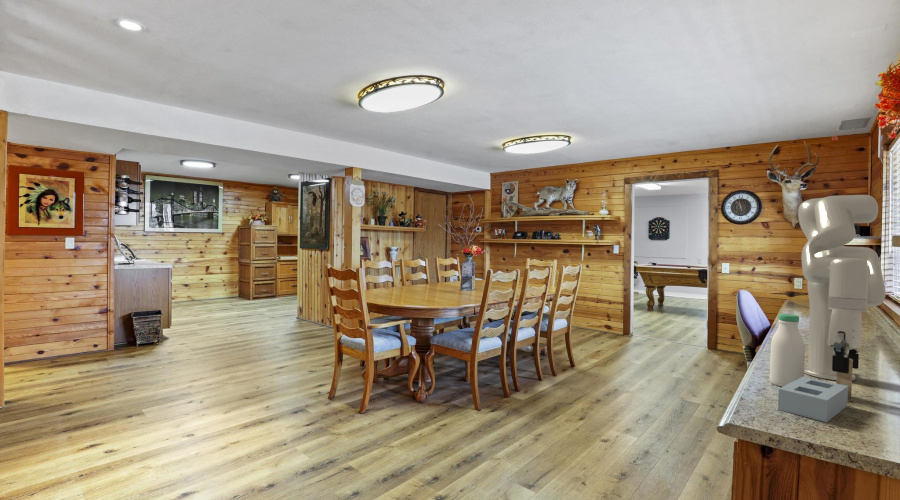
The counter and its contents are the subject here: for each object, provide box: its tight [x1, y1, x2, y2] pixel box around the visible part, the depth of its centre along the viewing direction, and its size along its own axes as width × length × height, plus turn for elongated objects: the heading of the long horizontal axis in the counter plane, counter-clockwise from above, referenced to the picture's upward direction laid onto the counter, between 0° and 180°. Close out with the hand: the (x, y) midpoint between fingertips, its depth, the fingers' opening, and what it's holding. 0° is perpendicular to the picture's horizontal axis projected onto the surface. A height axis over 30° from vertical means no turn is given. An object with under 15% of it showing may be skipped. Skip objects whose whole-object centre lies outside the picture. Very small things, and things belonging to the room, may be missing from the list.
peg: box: [836, 358, 853, 399], centre depth 116 cm, size 3×3×10 cm
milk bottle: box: [769, 313, 806, 388], centre depth 124 cm, size 8×8×20 cm
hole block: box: [777, 376, 849, 423], centre depth 107 cm, size 18×9×5 cm, turn 127°
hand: (845, 369), depth 115 cm, fingers open, 9 cm apart
